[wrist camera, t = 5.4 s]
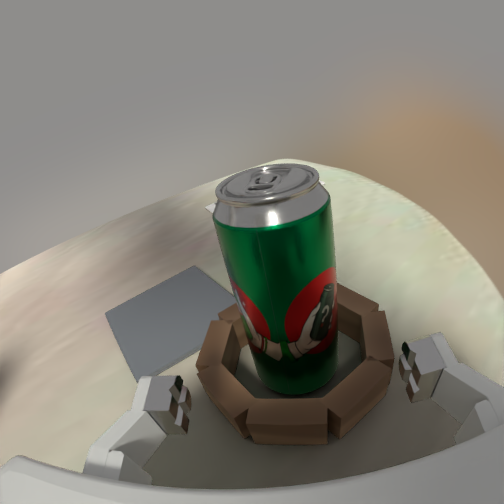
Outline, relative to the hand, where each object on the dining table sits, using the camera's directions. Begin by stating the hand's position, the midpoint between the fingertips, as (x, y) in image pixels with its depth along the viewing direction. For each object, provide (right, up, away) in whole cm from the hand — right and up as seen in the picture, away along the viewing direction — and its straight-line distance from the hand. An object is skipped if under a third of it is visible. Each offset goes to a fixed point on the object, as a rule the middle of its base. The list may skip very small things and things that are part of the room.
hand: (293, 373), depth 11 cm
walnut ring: (+1, -3, +8) cm, 9 cm away
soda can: (+1, -3, +8) cm, 9 cm away
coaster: (-8, -1, +15) cm, 17 cm away
